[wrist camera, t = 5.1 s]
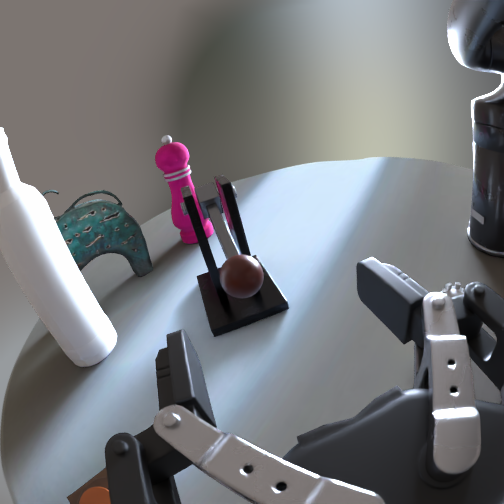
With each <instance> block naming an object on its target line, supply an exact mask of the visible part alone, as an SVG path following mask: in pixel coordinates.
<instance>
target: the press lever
mask: <svg viewBox="0 0 504 504" xmlns="http://www.w3.org/2000/svg"><path fill="white" fill-rule="evenodd" d="M194 190H195V194H196V197H197V200H198V203H199V206H200V209H201V212H202V214H203V217H204V219H207V218H210V219H211V222H212V224H213V227H214V229H215V232H216V234H217V237H218V239H219V242H220V244H221V247H222V249H223V252H224V254H225V256H226V259H227V260H226V261H225V263H224V264H223V265H222V267H221V270H220V283H221V285H222V287H223V289H224V290H225V291H226V292H227V293H228V294H229V295H231V296H233V297H235V298H248V297H250V296H252V295H254V294H255V293H256V292H258V290H259V289H260V288H261V286H262V283H263V270H262V267H261V265H260V264H259V263H258V261H257V260H255V259H254V258H253V257H251V256H248V255H243V254H241V255H240V254H239V252H238V250H237V248H236V246H235V244H234V241H233V239H232V237H231V235H230V233H229V230H228V228H227V226H226V224H225V222H224V219H223V217H222V215H221V213H224V212H223V207H222V203H221V199H220V195H219V193H218V191H217V189H216V187H215V185H214V183H213V182H211V183H208V184H205V185H202V186H200V187H196V188H194Z"/></svg>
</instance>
